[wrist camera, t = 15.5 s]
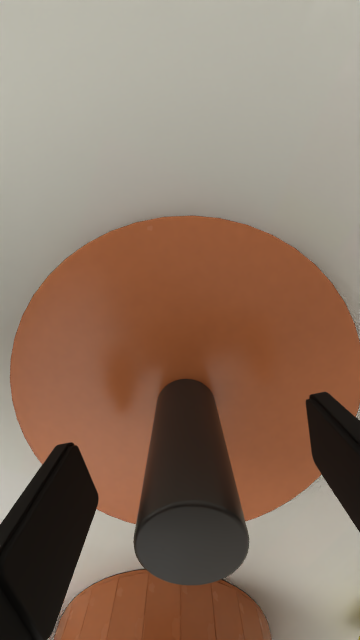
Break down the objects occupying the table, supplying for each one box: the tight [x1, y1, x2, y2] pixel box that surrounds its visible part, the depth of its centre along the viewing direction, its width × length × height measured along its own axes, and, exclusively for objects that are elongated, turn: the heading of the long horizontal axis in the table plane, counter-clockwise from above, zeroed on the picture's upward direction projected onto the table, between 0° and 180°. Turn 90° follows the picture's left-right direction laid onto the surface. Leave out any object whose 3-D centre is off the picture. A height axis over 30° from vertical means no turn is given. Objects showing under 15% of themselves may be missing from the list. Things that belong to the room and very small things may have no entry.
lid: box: [10, 216, 360, 585], centre depth 9 cm, size 18×18×7 cm
